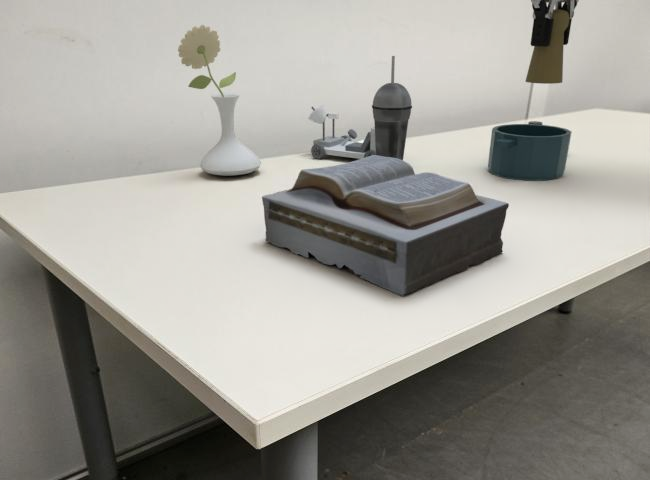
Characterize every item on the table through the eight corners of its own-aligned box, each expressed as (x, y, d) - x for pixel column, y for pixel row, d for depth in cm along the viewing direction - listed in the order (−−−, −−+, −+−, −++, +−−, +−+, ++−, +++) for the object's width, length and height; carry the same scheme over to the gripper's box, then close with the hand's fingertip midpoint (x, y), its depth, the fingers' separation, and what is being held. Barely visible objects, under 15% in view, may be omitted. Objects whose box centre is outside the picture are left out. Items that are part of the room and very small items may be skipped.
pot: (584, 169, 116) (591, 128, 112) (531, 187, 104) (538, 142, 101) (520, 158, 124) (525, 120, 121) (465, 173, 113) (469, 132, 109)
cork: (560, 80, 106) (571, 9, 101) (564, 83, 101) (576, 9, 96) (524, 79, 108) (533, 9, 102) (526, 83, 102) (536, 9, 97)
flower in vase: (254, 164, 121) (246, 23, 109) (267, 177, 111) (260, 24, 100) (188, 169, 117) (172, 24, 106) (195, 183, 108) (179, 25, 96)
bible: (388, 207, 94) (391, 141, 89) (526, 261, 73) (539, 179, 69) (251, 235, 83) (247, 161, 78) (370, 307, 62) (372, 213, 58)
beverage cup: (410, 167, 117) (416, 54, 108) (406, 176, 111) (413, 57, 102) (372, 166, 119) (376, 54, 110) (367, 174, 112) (370, 56, 103)
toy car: (299, 107, 122) (330, 100, 131) (300, 156, 127) (330, 147, 135) (378, 114, 114) (405, 106, 122) (376, 167, 118) (403, 156, 127)
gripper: (564, -94, 86) (543, 48, 94) (616, -83, 96) (594, 44, 104) (516, -88, 91) (501, 47, 99) (571, -78, 101) (553, 42, 109)
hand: (549, 44), depth 102 cm, fingers closed on cork, 5 cm apart
